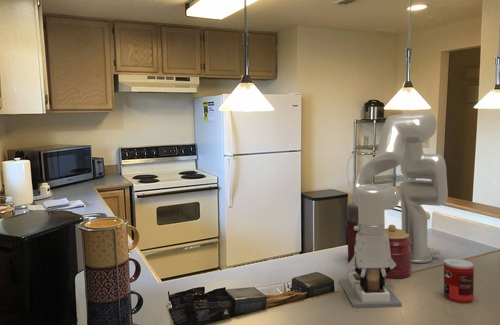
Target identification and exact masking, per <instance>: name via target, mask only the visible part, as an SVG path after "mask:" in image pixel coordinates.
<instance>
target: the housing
mask: <svg viewBox="0 0 500 325" xmlns="http://www.w3.org/2000/svg"><path fill="white" fill-rule="evenodd" d="M347 273H348V274H347V275H348V279H347V278H346V279H345V278H341V279H340V278H339V279H338V282H339V285H340V286H341V288H342V290H343V291H344V290H345V292H346V294H347V295H348V297H349V299H350V301H351V302H350V301H349V302H350V304H351V303H352V304H351V305H353V306H352V307H361V308H391V307H394V308H395V307H397V308H398V307H400V308H401V307H402V302H401V301H400V300H399V298H398V297H397V296H396V295H395V294H394V292H392V291H391V289H390V288H389V287H388V286H387V285H386V284H385V286H383V290H381V289H380V293H365V290H364V289H363V288H362V287H361V286H360V280H358V281H357V280H356V272H347ZM345 292H344V293H345ZM346 294H345V295H346ZM347 295H346V296H347ZM348 297H347V298H348ZM349 299H348V300H349Z"/></svg>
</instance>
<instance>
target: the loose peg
mask: <svg viewBox="0 0 500 325" xmlns="http://www.w3.org/2000/svg"><path fill="white" fill-rule="evenodd" d="M365 277H366V279H367V290H365V293H380V268H373V269H366V272H365Z"/></svg>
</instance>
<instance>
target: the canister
mask: <svg viewBox="0 0 500 325" xmlns="http://www.w3.org/2000/svg"><path fill="white" fill-rule="evenodd" d="M385 233H386V234H388V238H389V244H390V252H391V258H392V259H393V261H394V262H395V263H396V266H395V267H394V268H393V269H391V270H390V271H389V272H388V273H387V274H386V277H385V278H387V279H388V278H389V279H403V278H402V277H405V278H408V277H410V276H411V275H412V272H413V271H412V263H411V252H412V251H411V249H410V244H411V243H412V242H411V240H409V239H408V237H409V234H407V233H406V232H404V231H403V230H402V229H400V228H397V227H396V225H394V224H389V225H388V227H387V228H386V227H385ZM409 275H410V276H409ZM407 276H408V277H407Z"/></svg>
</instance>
